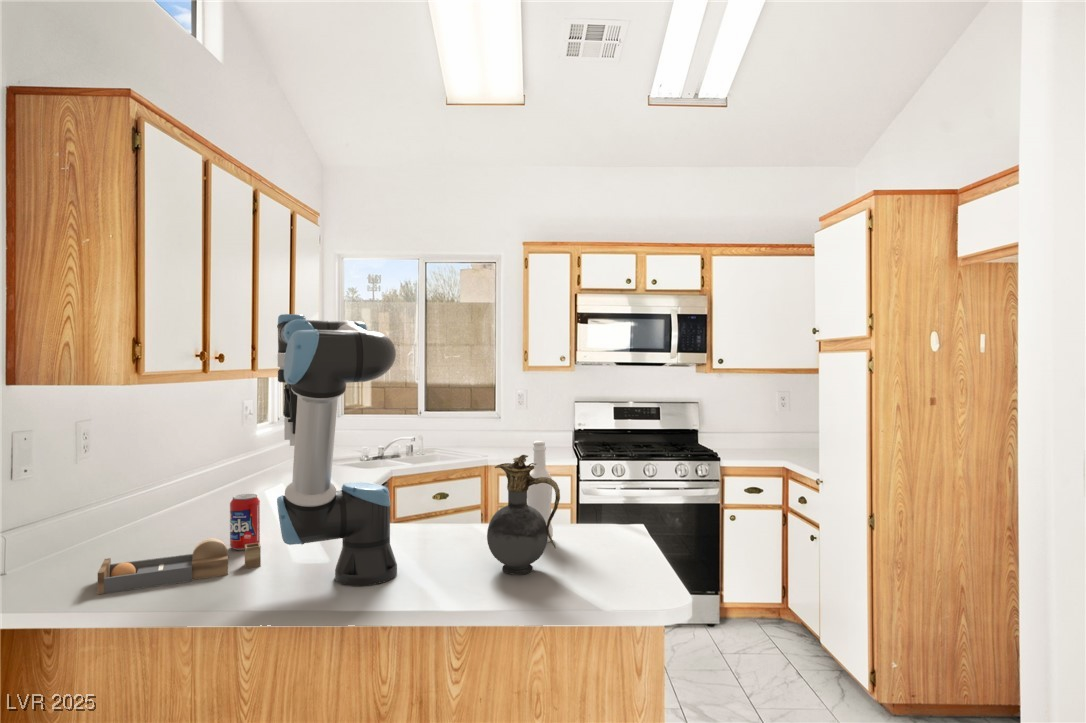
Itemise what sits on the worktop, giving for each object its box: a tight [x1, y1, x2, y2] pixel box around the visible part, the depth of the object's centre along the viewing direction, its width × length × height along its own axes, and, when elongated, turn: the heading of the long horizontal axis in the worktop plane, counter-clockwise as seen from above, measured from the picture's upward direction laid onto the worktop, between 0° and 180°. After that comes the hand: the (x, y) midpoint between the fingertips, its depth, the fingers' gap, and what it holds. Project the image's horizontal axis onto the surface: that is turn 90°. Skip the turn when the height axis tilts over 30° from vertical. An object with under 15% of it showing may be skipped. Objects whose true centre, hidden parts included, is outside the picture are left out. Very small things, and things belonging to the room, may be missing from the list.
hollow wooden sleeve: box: [244, 542, 262, 569], centre depth 168 cm, size 4×4×5 cm
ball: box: [111, 562, 136, 577], centre depth 155 cm, size 5×5×5 cm
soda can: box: [229, 493, 261, 551], centre depth 184 cm, size 8×8×15 cm
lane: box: [103, 553, 193, 595], centre depth 157 cm, size 12×18×4 cm, turn 118°
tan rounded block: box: [192, 537, 229, 581], centre depth 163 cm, size 10×8×8 cm
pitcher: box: [486, 454, 561, 575], centre depth 164 cm, size 11×19×30 cm, turn 76°
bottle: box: [527, 440, 554, 544], centre depth 191 cm, size 8×8×30 cm
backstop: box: [97, 557, 112, 595], centre depth 153 cm, size 12×1×5 cm, turn 28°
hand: (292, 442), depth 182 cm, fingers open, 13 cm apart
